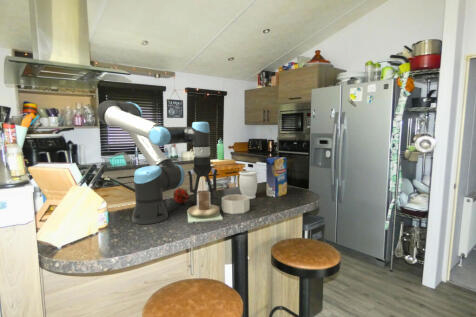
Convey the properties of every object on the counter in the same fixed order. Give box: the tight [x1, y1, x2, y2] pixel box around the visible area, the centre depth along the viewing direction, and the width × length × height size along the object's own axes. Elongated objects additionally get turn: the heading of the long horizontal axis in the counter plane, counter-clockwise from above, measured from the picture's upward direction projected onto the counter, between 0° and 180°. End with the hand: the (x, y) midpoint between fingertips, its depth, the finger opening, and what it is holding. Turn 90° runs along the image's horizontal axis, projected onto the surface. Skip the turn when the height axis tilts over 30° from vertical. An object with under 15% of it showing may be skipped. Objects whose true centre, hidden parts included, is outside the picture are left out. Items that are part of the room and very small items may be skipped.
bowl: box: [221, 194, 250, 215], centre depth 133 cm, size 13×13×6 cm
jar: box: [238, 170, 258, 200], centre depth 156 cm, size 11×10×15 cm
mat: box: [186, 209, 224, 224], centre depth 125 cm, size 15×17×1 cm
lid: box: [187, 189, 220, 216], centre depth 125 cm, size 14×14×9 cm
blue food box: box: [265, 156, 288, 198], centre depth 161 cm, size 7×11×22 cm, turn 134°
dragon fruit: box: [172, 187, 191, 205], centre depth 148 cm, size 8×8×12 cm
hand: (203, 206), depth 125 cm, fingers closed on lid, 5 cm apart
